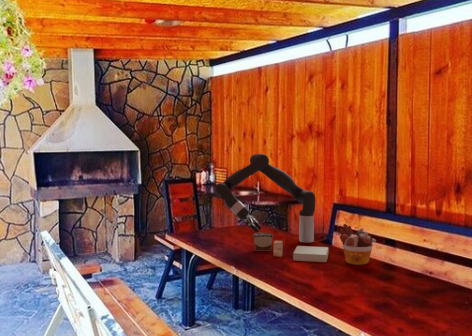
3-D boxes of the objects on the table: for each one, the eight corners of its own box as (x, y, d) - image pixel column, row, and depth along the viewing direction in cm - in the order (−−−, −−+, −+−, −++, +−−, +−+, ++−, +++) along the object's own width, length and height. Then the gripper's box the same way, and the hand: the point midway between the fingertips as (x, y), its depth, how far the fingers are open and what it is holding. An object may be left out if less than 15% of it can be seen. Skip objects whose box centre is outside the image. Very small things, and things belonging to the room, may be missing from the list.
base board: (297, 252, 283) (297, 245, 283) (328, 254, 278) (328, 247, 278) (293, 260, 265) (293, 253, 265) (326, 262, 261) (326, 254, 261)
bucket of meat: (381, 264, 256) (381, 227, 255) (359, 269, 247) (360, 230, 246) (353, 256, 273) (353, 221, 272) (332, 260, 264) (332, 224, 263)
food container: (273, 248, 293) (273, 232, 293) (273, 250, 287) (273, 234, 287) (253, 248, 295) (253, 232, 294) (253, 250, 289) (252, 234, 288)
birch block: (274, 254, 279) (274, 240, 279) (282, 254, 278) (282, 241, 278) (273, 256, 275) (273, 242, 275) (281, 256, 274) (281, 242, 273)
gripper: (241, 207, 273) (261, 228, 271) (247, 204, 287) (266, 223, 285) (232, 216, 275) (252, 237, 273) (238, 212, 288) (257, 232, 286)
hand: (259, 230), depth 279 cm, fingers open, 8 cm apart
